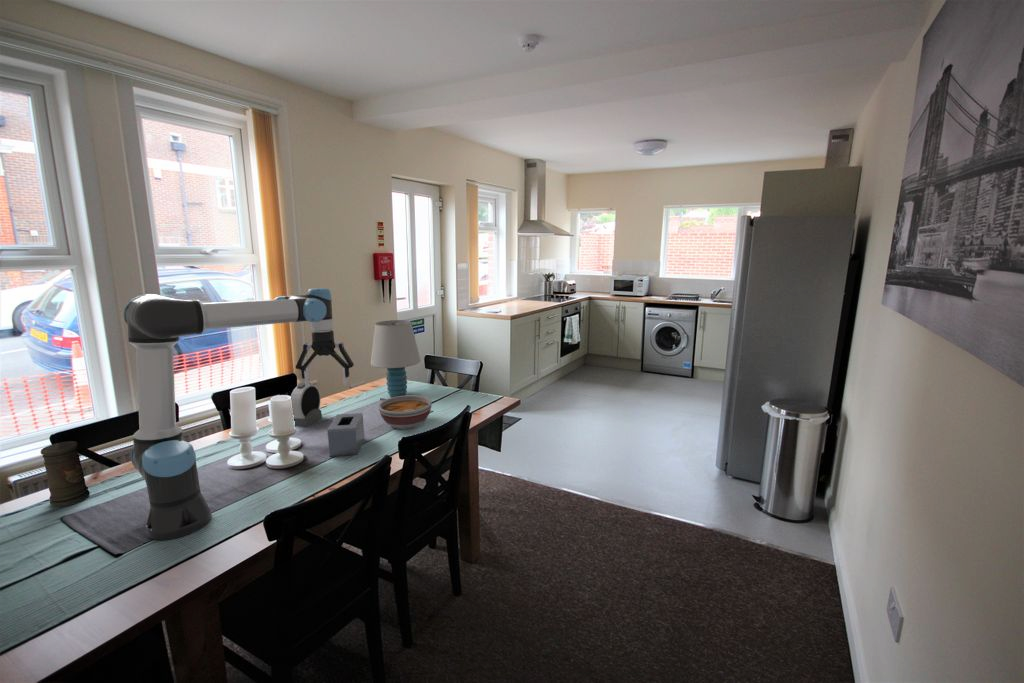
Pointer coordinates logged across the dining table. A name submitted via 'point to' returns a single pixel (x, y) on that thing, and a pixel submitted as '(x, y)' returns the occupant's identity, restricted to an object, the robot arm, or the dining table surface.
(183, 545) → the dining table surface
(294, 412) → the alarm clock
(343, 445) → the box
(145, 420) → the robot arm
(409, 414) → the bowl
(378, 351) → the lamp
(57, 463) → the container
